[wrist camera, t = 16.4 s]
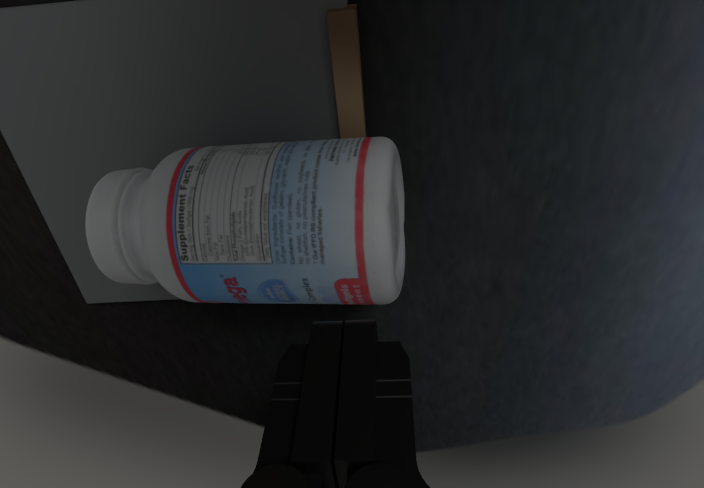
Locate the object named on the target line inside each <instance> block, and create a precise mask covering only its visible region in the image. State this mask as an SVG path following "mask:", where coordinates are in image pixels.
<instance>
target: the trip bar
mask: <svg viewBox="0 0 704 488" xmlns="http://www.w3.org/2000/svg"><path fill="white" fill-rule="evenodd" d="M327 21H328V30H329V39H330V48H331V57H332V66H333V75H334V84H335V93H336V103H337V112H338V121H339V130H340V139H345V138H362V137H367V133H366V121H365V108H364V96H363V83H362V71H361V58H360V46H359V33H358V21H357V8H356V4H348V6H347V7H344V8H334V9H328V10H327Z"/></svg>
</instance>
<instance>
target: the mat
mask: <svg viewBox="0 0 704 488" xmlns="http://www.w3.org/2000/svg"><path fill="white" fill-rule="evenodd" d="M347 6H348V0H78V1H68V2H58V3H48V4H38V5H28V6H18V7H8V8H0V130H1V132H2V134H3V136H4V138H5V140H6V142H7V144H8V146H9V148H10V150H11V152H12V154H13V156H14V158H15V160H16V162H17V164H18V166H19V168H20V170H21V172H22V174H23V176H24V178H25V180H26V183H27V185H28V187H29V189H30V191H31V193H32V195H33V197H34V199H35V201H36V203H37V205H38V207H39V209H40V211H41V213H42V215H43V217H44V219H45V221H46V223H47V225H48V227H49V229H50V231H51V233H52V235H53V237H54V239H55V241H56V243H57V245H58V247H59V249H60V251H61V253H62V255H63V257H64V259H65V261H66V263H67V265H68V267H69V269H70V271H71V273H72V275H73V277H74V279H75V281H76V283H77V285H78V287H79V289H80V291H81V293H82V295H83V297H84V299H85V301H86V303H108V302H130V301H151V300H172V299H180V298H178V297H176V296H174V295H172V294H171V293H170V292H168V291H167V290H166V289H165V288H164V287H163V286H162V285H161V284H160V283H159V282H157V283H153V284H149V285H143V284H126V283H119V282H116V281H113V280H111V279H110V278H108V277H107V276H106V275H105V274H103V273H102V272H101V270H100V269H99V268H98V266H97V265H96V263H95V261H94V259H93V257H92V255H91V252H90V250H89V246H88V242H87V237H86V228H85V222H86V210H87V206H88V201H89V198H90V196H91V193H92V191H93V189H94V187H95V185H96V184H97V183H98V182H99V180H101V179H102V178H103V177H104V176H105V175H106V174H108V173H110V172H113V171H117V170H126V169H136V168H147V169H151V170H154V169H155V168H156V167H157V165H158V164H159V163H160V162H161V161H162V160H163V159H164V158H165V157H167V156H168V155H170V154H172V153H174V152H176V151H178V150H181V149H185V148H194V147H206V146H222V145H240V144H255V143H273V142H291V141H308V140H326V139H340V130H339V121H338V112H337V103H336V93H335V84H334V75H333V66H332V57H331V48H330V39H329V30H328V21H327V10H328V9H334V8H344V7H347Z"/></svg>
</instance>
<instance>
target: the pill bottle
mask: <svg viewBox="0 0 704 488" xmlns="http://www.w3.org/2000/svg"><path fill="white" fill-rule="evenodd" d="M85 228H86V237H87V242H88V246H89V250H90V252H91V255H92V257H93V259H94V261H95V263H96V265H97V266H98V268H99V269H100V270H101V272H102V273H103V274H105V275H106V276H107V277H108V278H110V279H111V280H113V281H116V282H119V283H126V284H143V285H149V284H153V283H157V282H159V283H160V284H161V285H162V286H163V287H164V288H165V289H166V290H167V291H168V292H170V293H171V294H172V295H174V296H176V297H178V298H180V299H183V300H186V301H190V302H203V303H281V304H388V303H391V302H393V301H394V300H396V298H397V297H398V296H399V294H400V291H401V288H402V283H403V277H404V267H405V237H404V186H403V176H402V168H401V162H400V157H399V153H398V150H397V147H396V145H395V144H394V143H393V141H392V140H390V139H389V138H386V137H362V138H345V139H326V140H308V141H291V142H273V143H255V144H240V145H222V146H206V147H194V148H185V149H181V150H178V151H176V152H174V153H172V154H170V155H168V156H167V157H165V158H164V159H163V160H162V161H161V162H160V163H159V164H158V165H157V167H156V168H155V169H154V170H151V169H147V168H136V169H126V170H117V171H113V172H110V173H108V174H106V175H105V176H104V177H103V178H102V179H101V180H99V182H98V183H97V184H96V185H95V187H94V189H93V191H92V193H91V196H90V198H89V201H88V206H87V210H86V222H85Z"/></svg>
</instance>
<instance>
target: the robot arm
mask: <svg viewBox="0 0 704 488" xmlns="http://www.w3.org/2000/svg"><path fill="white" fill-rule="evenodd" d="M274 382H275V385H274V386H273V391H272V396H271V402H270V405H269V410H268V414H267V419H266V424H265V429H264V434H263V438H262V443H261V448H260V452H259V457H258V461H257V465H256V468H255V470H254V472H253V474H252V475H251V476H250V477H248V479H247V480H246V481H245V482H244V483H243V485H242V486H241V488H430V487H429V486H428V485H427V484H426V482H425V481H424V479H423V478H422V476H421V474H420V472H419V470H418V466H417V461H416V450H415V435H414V420H413V405H412V391H411V376H410V361H409V357H408V355H407V354H406V352H405V350H404V349H403V347H402V345H401V344H400V342H399V341H394V342H378V336H377V324H376V319H375V320H347V321H345V325H344V321H322V322H313V323H312V326H311V331H310V338H309V344H303V345H290V347H289V348H288V350H287V351H286V352H285V354H284V355H283V357H282V358H281V359H280V361H279V362H278V367H277V372H276V377H275V381H274Z"/></svg>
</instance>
